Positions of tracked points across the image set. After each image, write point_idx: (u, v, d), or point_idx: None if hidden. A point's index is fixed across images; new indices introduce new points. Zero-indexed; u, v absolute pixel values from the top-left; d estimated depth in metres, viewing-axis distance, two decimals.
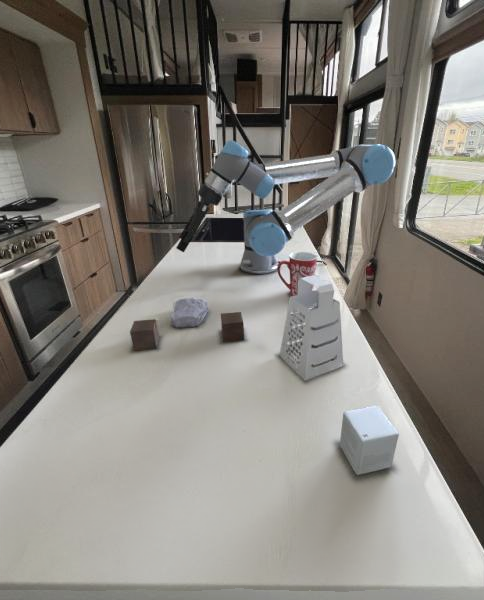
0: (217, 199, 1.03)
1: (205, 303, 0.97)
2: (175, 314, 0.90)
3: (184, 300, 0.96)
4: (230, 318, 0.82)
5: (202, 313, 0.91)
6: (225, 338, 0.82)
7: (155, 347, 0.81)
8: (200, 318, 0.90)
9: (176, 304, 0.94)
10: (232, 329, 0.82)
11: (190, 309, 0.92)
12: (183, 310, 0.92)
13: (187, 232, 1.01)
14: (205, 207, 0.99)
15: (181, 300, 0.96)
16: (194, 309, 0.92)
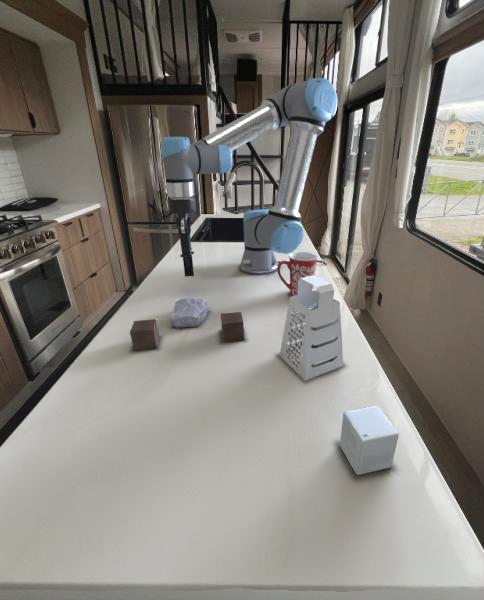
0: (190, 205, 0.90)
1: (205, 303, 0.97)
2: (175, 314, 0.90)
3: (184, 300, 0.96)
4: (230, 318, 0.82)
5: (202, 313, 0.91)
6: (225, 338, 0.82)
7: (155, 347, 0.81)
8: (200, 318, 0.90)
9: (176, 304, 0.94)
10: (232, 329, 0.82)
11: (190, 309, 0.92)
12: (183, 310, 0.92)
13: (184, 257, 0.98)
14: (183, 230, 0.89)
15: (181, 300, 0.96)
16: (194, 309, 0.92)
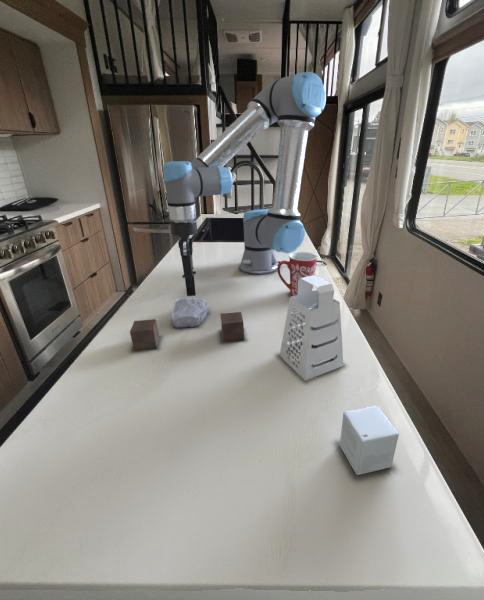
0: (192, 228, 0.91)
1: (205, 303, 0.97)
2: (175, 314, 0.90)
3: (184, 300, 0.96)
4: (230, 318, 0.82)
5: (202, 313, 0.91)
6: (225, 338, 0.82)
7: (155, 347, 0.81)
8: (200, 318, 0.90)
9: (176, 304, 0.94)
10: (232, 329, 0.82)
11: (190, 309, 0.92)
12: (183, 310, 0.92)
13: (186, 277, 0.99)
14: (185, 252, 0.90)
15: (181, 300, 0.96)
16: (194, 309, 0.92)
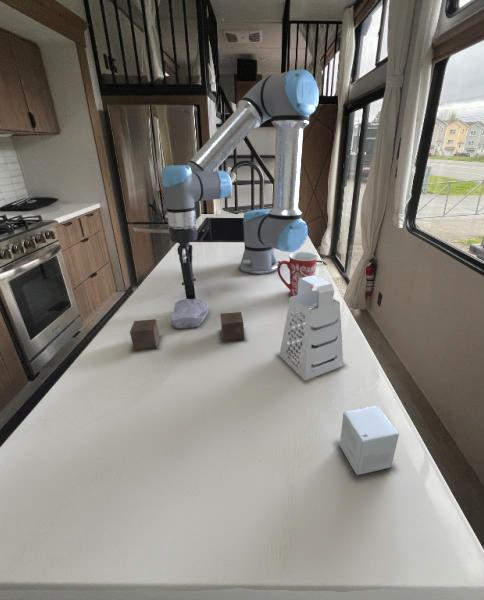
0: (192, 234, 0.88)
1: (205, 304, 0.97)
2: (175, 315, 0.89)
3: (184, 301, 0.95)
4: (230, 318, 0.82)
5: (202, 314, 0.91)
6: (225, 338, 0.82)
7: (155, 347, 0.81)
8: (200, 319, 0.89)
9: (176, 305, 0.94)
10: (232, 329, 0.82)
11: (190, 310, 0.92)
12: (183, 311, 0.91)
13: (186, 284, 0.96)
14: (184, 260, 0.87)
15: (181, 301, 0.95)
16: (194, 310, 0.92)
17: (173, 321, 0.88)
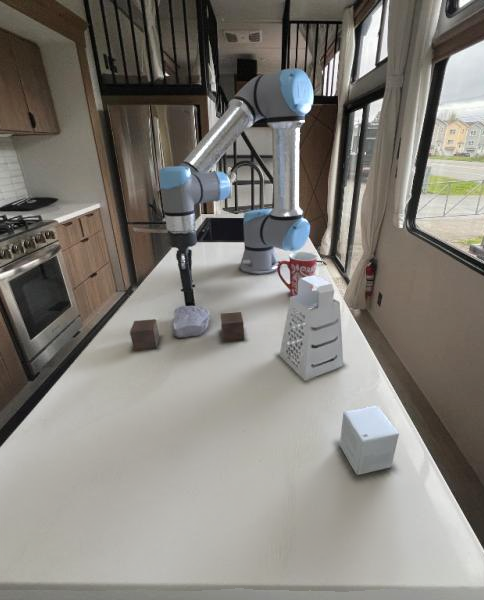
0: (191, 239, 0.83)
1: (205, 310, 0.93)
2: (177, 324, 0.85)
3: (184, 308, 0.91)
4: (230, 318, 0.82)
5: (205, 321, 0.87)
6: (225, 338, 0.82)
7: (155, 347, 0.81)
8: (204, 326, 0.85)
9: (176, 313, 0.90)
10: (232, 329, 0.82)
11: (192, 317, 0.88)
12: (184, 319, 0.87)
13: (185, 291, 0.92)
14: (183, 266, 0.83)
15: (180, 308, 0.91)
16: (196, 317, 0.88)
17: (175, 330, 0.84)
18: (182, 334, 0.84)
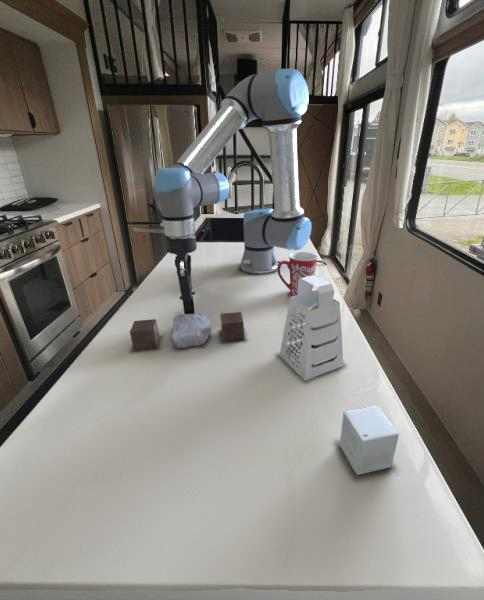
0: (191, 244, 0.79)
1: (206, 318, 0.89)
2: (176, 333, 0.80)
3: (183, 317, 0.87)
4: (230, 318, 0.82)
5: (206, 330, 0.83)
6: (225, 338, 0.82)
7: (155, 347, 0.81)
8: (205, 336, 0.81)
9: (175, 322, 0.85)
10: (232, 329, 0.82)
11: (192, 326, 0.83)
12: (184, 328, 0.83)
13: None
14: (182, 273, 0.78)
15: (179, 317, 0.87)
16: (196, 326, 0.84)
17: (175, 341, 0.79)
18: (182, 344, 0.80)
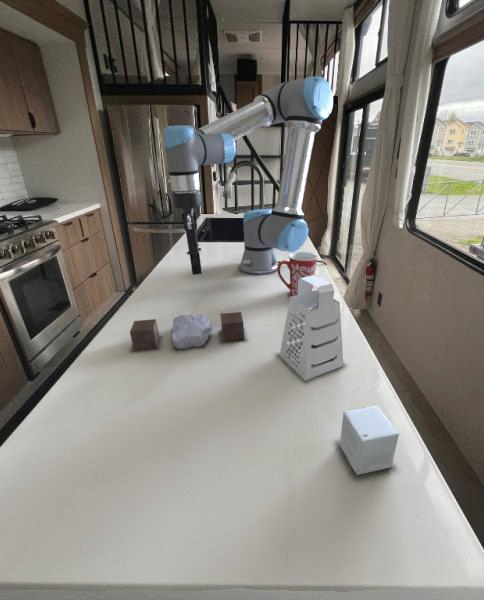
0: (196, 199, 0.85)
1: (206, 319, 0.88)
2: (176, 334, 0.80)
3: (183, 317, 0.86)
4: (230, 318, 0.82)
5: (206, 331, 0.83)
6: (225, 338, 0.82)
7: (155, 347, 0.81)
8: (205, 337, 0.81)
9: (174, 322, 0.85)
10: (232, 329, 0.82)
11: (192, 327, 0.83)
12: (184, 329, 0.82)
13: (191, 254, 0.93)
14: (189, 226, 0.84)
15: (179, 317, 0.86)
16: (196, 327, 0.83)
17: (175, 341, 0.79)
18: (182, 345, 0.80)
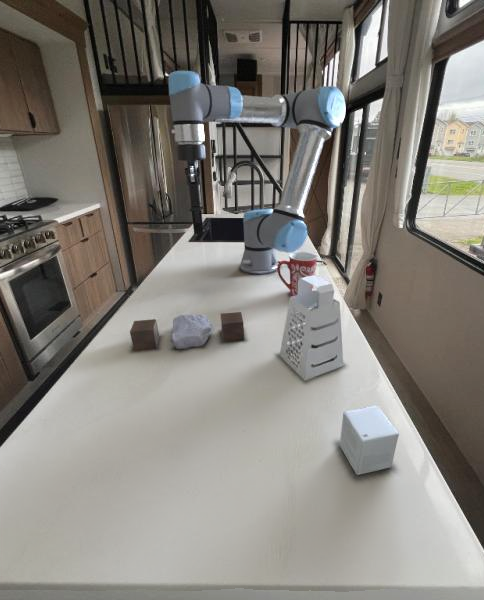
0: (200, 151, 0.83)
1: (206, 319, 0.88)
2: (176, 334, 0.80)
3: (183, 317, 0.86)
4: (230, 318, 0.82)
5: (206, 331, 0.83)
6: (225, 338, 0.82)
7: (155, 347, 0.81)
8: (205, 337, 0.81)
9: (174, 322, 0.85)
10: (232, 329, 0.82)
11: (192, 327, 0.83)
12: (184, 329, 0.82)
13: (193, 211, 0.91)
14: (193, 177, 0.82)
15: (179, 317, 0.86)
16: (196, 327, 0.83)
17: (175, 341, 0.79)
18: (182, 345, 0.80)
